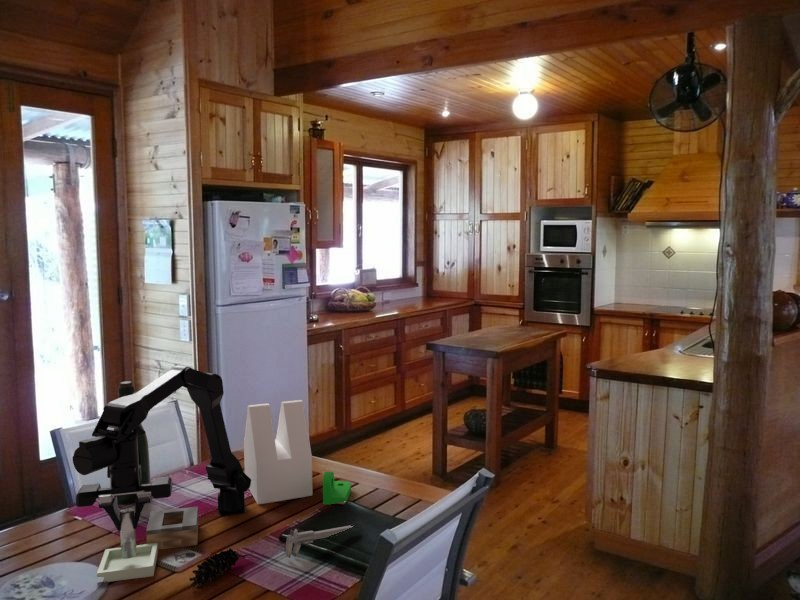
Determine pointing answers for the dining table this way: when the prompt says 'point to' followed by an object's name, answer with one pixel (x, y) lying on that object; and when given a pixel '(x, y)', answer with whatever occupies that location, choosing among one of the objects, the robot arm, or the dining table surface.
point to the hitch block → (173, 528)
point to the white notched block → (278, 453)
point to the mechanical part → (334, 489)
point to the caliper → (308, 538)
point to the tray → (128, 563)
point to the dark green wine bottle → (143, 450)
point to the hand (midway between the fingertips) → (127, 529)
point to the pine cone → (215, 566)
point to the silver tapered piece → (127, 533)
